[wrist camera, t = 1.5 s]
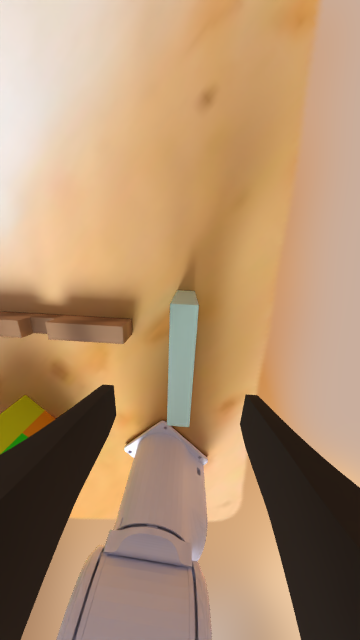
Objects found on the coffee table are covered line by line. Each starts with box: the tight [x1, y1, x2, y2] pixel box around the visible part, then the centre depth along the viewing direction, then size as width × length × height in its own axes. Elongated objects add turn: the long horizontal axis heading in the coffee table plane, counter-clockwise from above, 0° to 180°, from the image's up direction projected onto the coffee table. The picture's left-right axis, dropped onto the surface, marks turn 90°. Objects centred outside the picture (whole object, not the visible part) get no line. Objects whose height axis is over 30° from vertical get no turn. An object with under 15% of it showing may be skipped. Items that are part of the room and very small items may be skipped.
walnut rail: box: [0, 312, 132, 344], centre depth 18 cm, size 18×2×3 cm, turn 88°
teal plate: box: [167, 290, 199, 427], centre depth 15 cm, size 10×2×7 cm, turn 178°
